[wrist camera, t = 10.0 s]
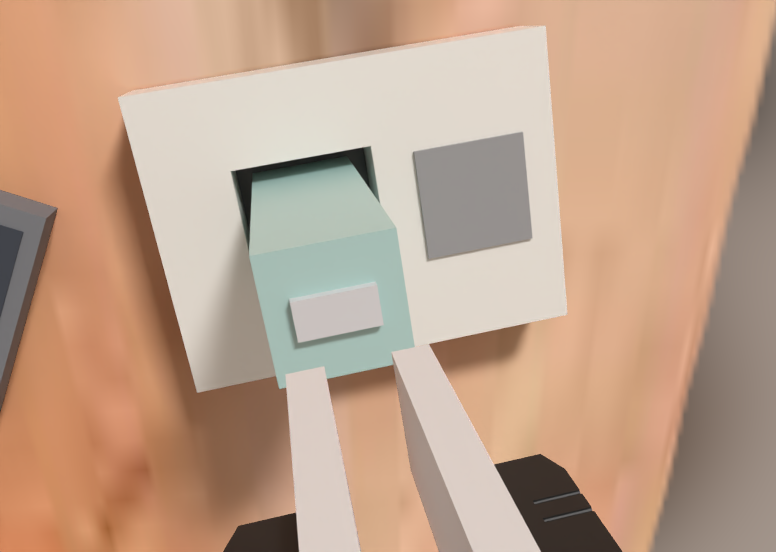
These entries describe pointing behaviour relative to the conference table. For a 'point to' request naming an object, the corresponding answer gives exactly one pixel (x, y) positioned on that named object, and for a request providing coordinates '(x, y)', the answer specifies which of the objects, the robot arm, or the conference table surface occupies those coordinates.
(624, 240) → the conference table surface
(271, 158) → the outlet board
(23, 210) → the phone
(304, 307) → the pale green block
